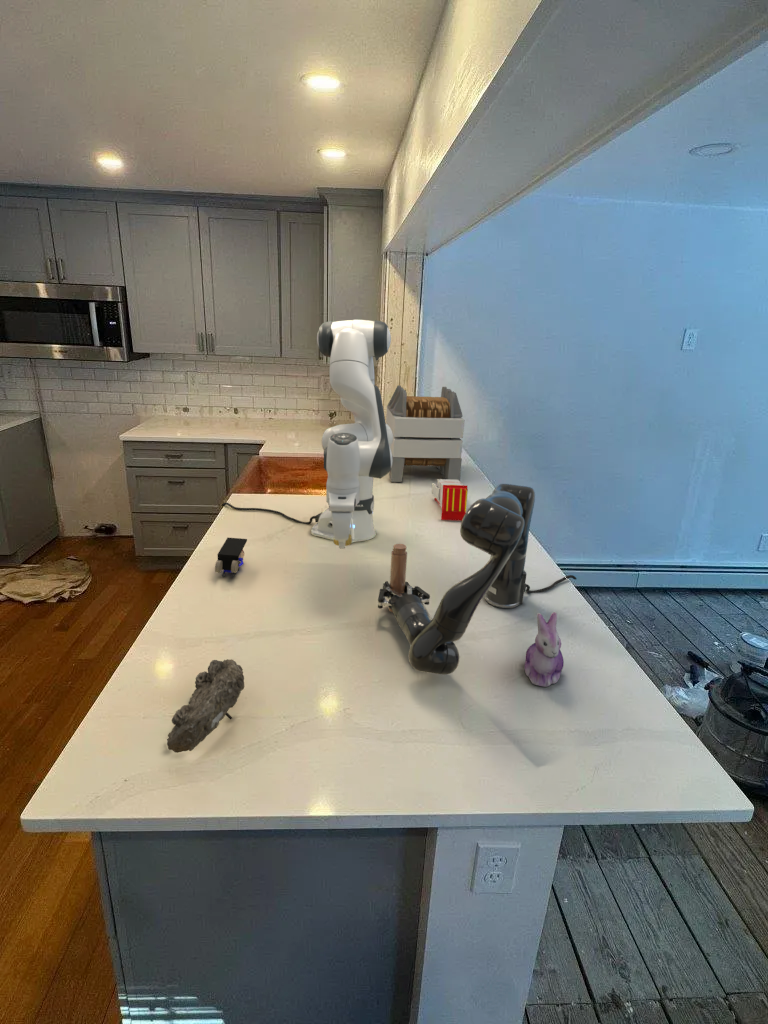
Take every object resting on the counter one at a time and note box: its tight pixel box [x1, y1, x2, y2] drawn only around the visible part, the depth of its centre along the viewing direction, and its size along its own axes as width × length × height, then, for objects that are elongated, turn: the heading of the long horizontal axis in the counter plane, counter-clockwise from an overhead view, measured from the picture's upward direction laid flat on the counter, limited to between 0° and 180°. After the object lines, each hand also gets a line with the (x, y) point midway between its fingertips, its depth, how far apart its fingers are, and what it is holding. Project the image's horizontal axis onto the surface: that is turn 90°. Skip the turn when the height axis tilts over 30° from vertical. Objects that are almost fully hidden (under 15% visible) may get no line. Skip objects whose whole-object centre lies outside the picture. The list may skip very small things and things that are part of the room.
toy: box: [431, 478, 469, 522], centre depth 226 cm, size 12×13×30 cm
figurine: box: [524, 611, 565, 688], centre depth 122 cm, size 9×10×15 cm
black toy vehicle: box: [214, 537, 248, 578], centre depth 166 cm, size 7×8×15 cm
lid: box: [333, 534, 352, 547], centre depth 155 cm, size 5×5×2 cm
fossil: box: [166, 658, 245, 754], centre depth 106 cm, size 22×10×15 cm
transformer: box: [385, 384, 465, 483], centre depth 268 cm, size 34×33×41 cm
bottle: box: [388, 543, 408, 613], centre depth 147 cm, size 4×4×18 cm
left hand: (342, 543), depth 155 cm, fingers closed on lid, 4 cm apart
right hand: (394, 584), depth 150 cm, fingers closed on bottle, 4 cm apart
